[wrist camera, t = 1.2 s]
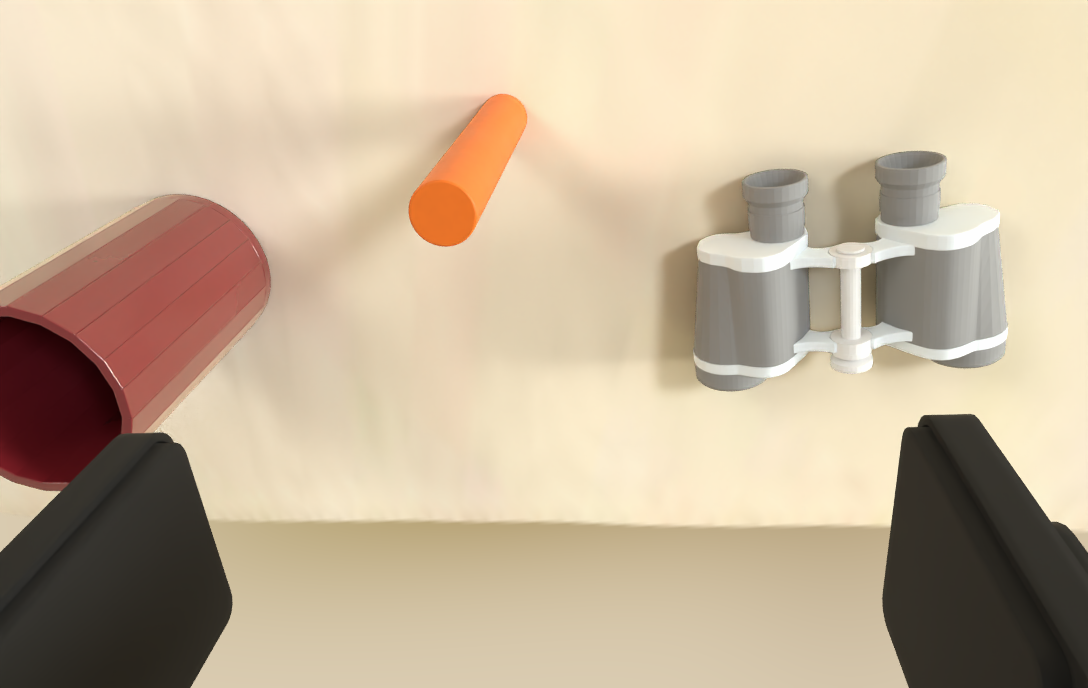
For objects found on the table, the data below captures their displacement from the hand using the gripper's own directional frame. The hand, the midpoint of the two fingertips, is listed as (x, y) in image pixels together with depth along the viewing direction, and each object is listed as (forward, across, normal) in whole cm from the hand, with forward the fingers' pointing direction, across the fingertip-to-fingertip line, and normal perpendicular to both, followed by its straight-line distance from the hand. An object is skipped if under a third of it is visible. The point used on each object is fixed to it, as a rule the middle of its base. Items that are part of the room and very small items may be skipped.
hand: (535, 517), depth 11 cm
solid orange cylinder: (+24, +4, 0) cm, 24 cm away
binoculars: (+24, -9, +6) cm, 26 cm away
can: (+24, +18, +5) cm, 30 cm away
